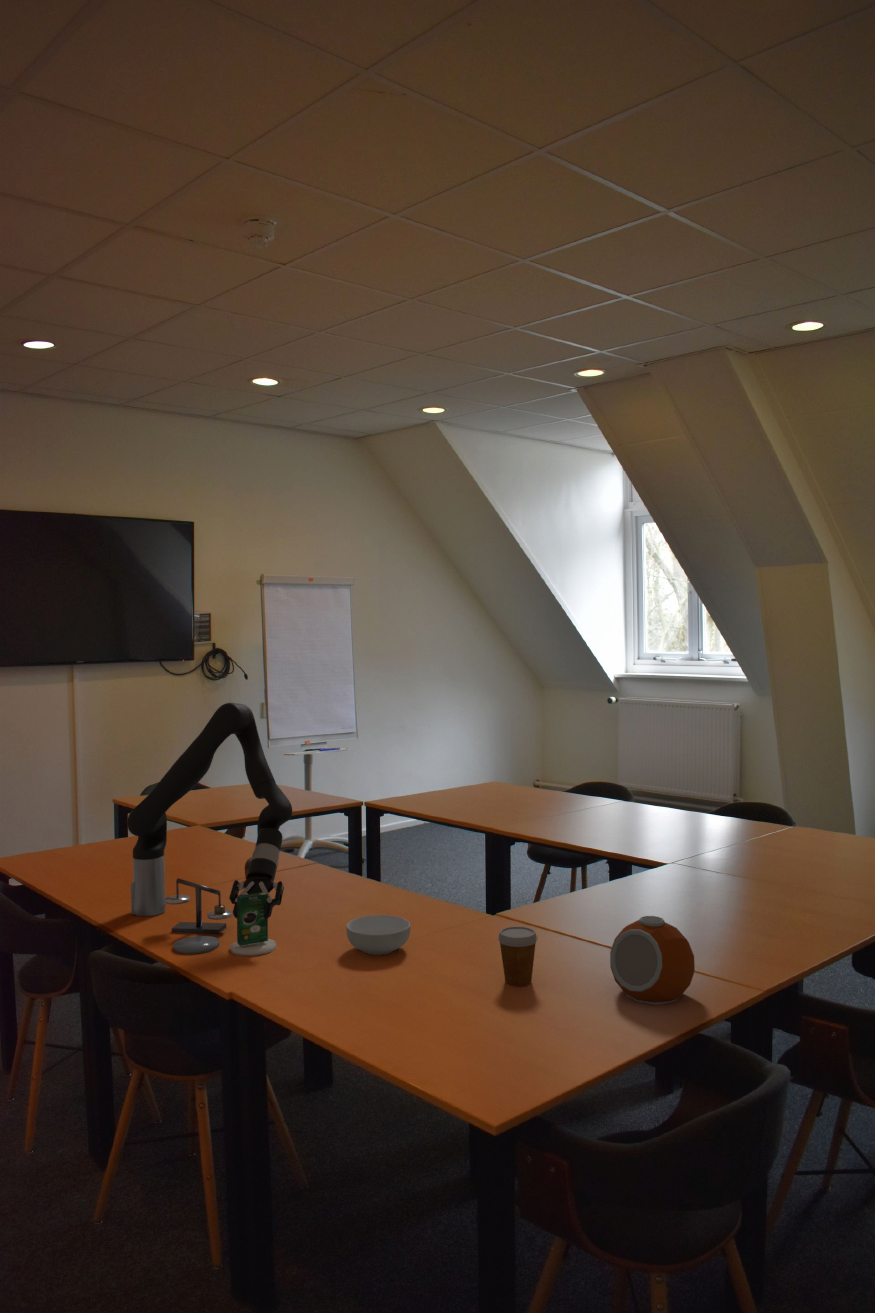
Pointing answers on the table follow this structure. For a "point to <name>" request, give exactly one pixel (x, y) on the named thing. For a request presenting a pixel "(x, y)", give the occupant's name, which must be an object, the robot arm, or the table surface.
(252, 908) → the coffee box
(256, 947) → the white dish
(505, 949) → the disposable coffee cup
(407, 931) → the cereal bowl
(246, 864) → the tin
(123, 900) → the table surface
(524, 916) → the table surface
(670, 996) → the alarm clock
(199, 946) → the grey dish
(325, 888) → the table surface
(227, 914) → the balance
